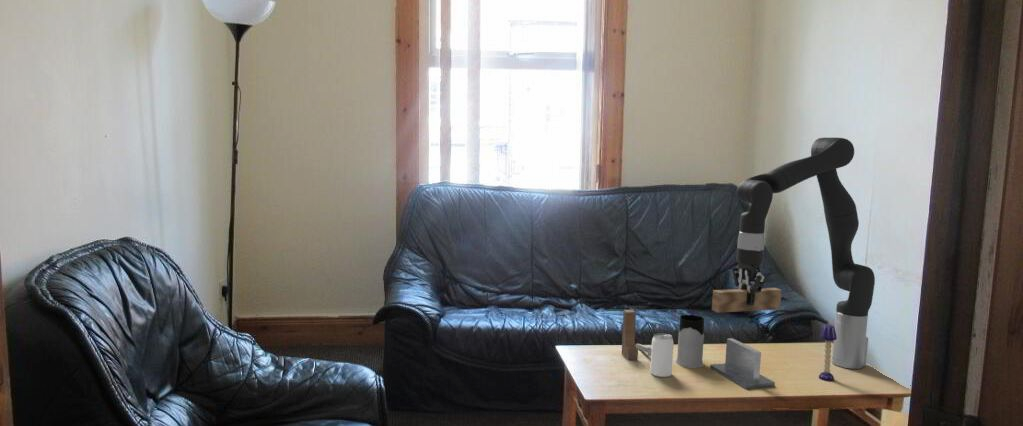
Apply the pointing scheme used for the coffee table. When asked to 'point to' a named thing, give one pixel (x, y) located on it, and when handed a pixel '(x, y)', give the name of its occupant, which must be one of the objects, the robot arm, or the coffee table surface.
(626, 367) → the coffee table surface
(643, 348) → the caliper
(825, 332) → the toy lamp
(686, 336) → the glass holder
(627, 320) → the wooden block
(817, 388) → the coffee table surface
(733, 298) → the brown wooden plank
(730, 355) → the ridge stand
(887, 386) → the coffee table surface
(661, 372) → the can
